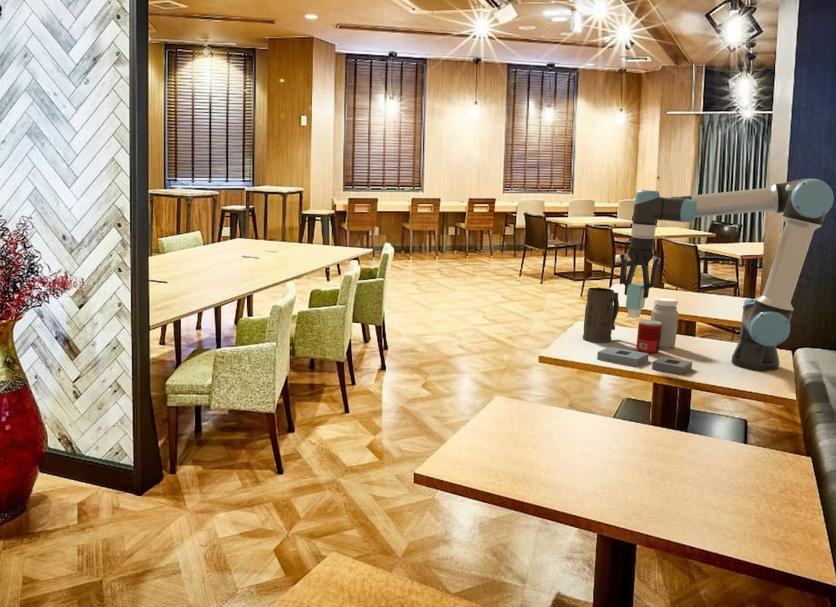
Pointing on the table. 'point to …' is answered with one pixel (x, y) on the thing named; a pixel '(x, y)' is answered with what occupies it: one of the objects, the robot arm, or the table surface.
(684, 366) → the hollow square frame
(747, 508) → the table surface
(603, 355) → the port panel
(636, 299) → the plug
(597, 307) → the beer stein
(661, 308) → the jar
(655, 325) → the canned food
